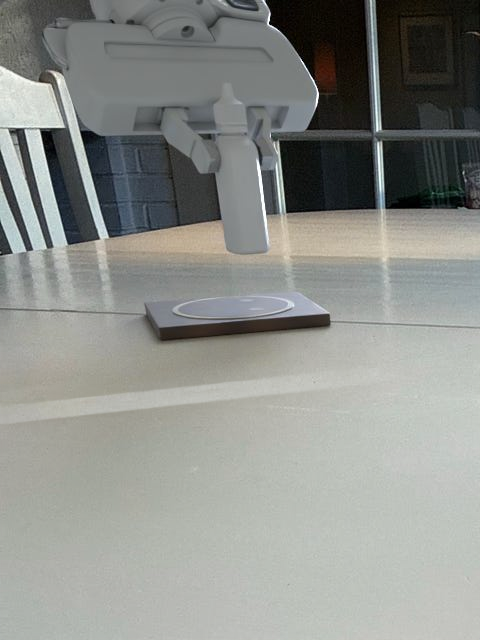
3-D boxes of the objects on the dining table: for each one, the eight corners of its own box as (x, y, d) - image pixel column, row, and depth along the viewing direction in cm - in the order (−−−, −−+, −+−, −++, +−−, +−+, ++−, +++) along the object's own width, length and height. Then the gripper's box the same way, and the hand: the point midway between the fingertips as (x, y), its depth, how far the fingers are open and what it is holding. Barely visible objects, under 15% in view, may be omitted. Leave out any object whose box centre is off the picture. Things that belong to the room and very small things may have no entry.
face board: (160, 340, 72) (158, 325, 71) (146, 314, 81) (143, 300, 81) (331, 325, 77) (329, 311, 76) (298, 302, 86) (296, 289, 86)
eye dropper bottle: (282, 246, 78) (263, 83, 72) (264, 255, 73) (242, 82, 67) (233, 246, 78) (210, 84, 72) (211, 255, 73) (185, 82, 67)
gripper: (34, -21, 64) (122, 137, 63) (279, -2, 76) (357, 131, 75) (28, 56, 69) (109, 203, 68) (258, 62, 81) (331, 188, 80)
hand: (241, 165), depth 72 cm, fingers closed on eye dropper bottle, 4 cm apart
